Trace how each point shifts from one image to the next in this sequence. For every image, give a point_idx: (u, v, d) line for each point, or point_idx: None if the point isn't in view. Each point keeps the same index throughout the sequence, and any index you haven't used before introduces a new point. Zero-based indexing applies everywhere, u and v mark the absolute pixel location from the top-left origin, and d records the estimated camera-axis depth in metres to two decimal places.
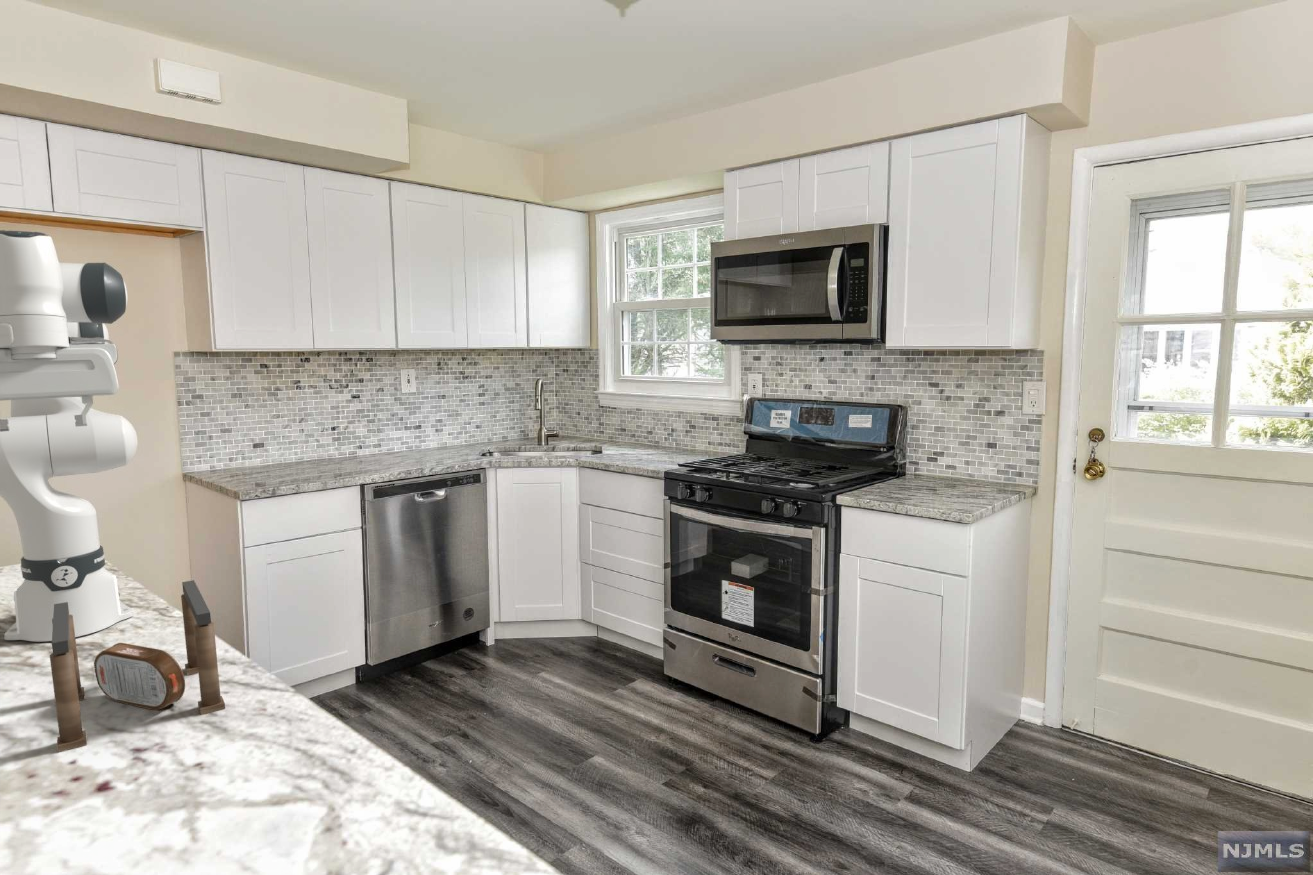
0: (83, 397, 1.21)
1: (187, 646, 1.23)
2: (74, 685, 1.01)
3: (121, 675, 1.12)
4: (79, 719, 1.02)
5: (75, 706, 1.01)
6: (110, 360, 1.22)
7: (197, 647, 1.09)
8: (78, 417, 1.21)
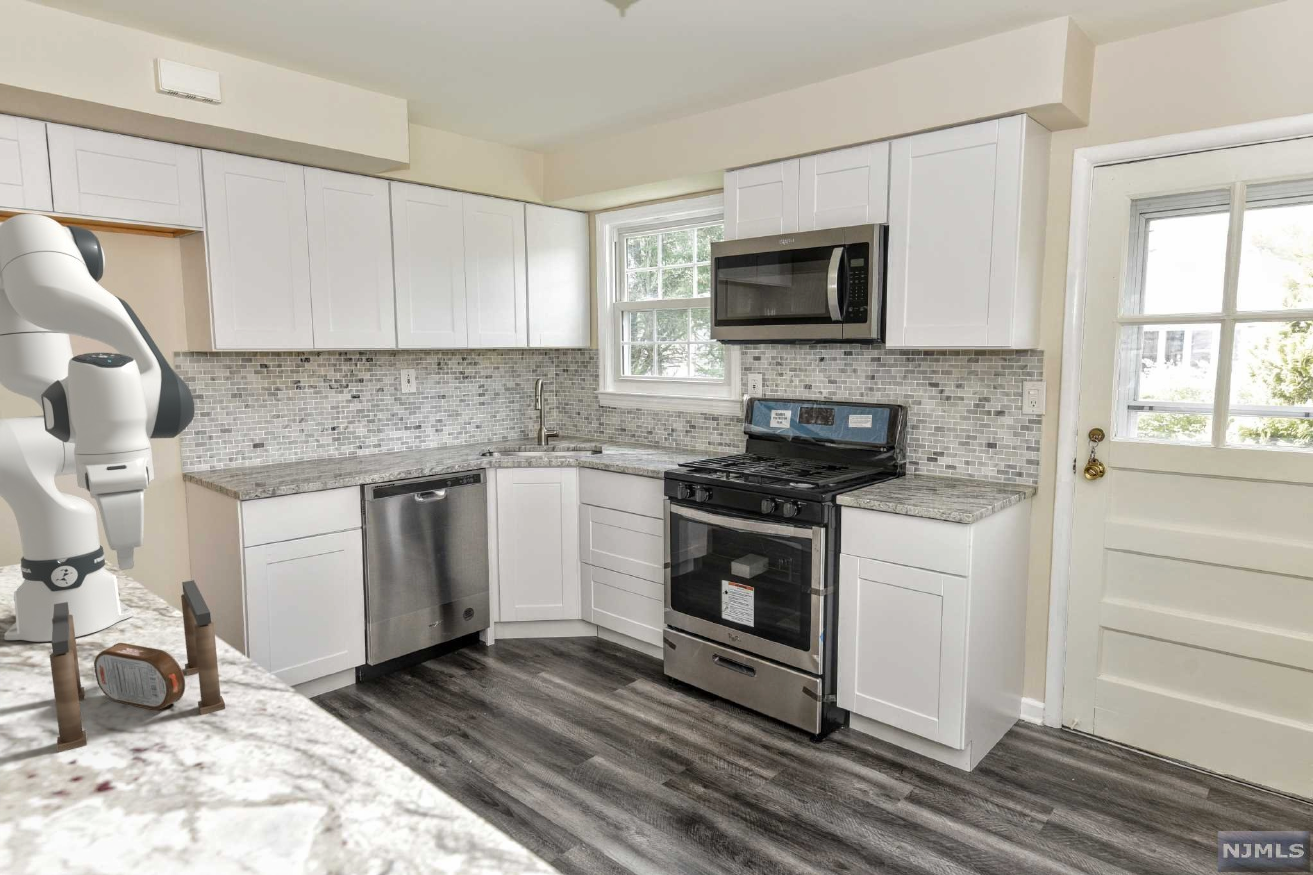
0: None
1: (187, 646, 1.23)
2: (74, 685, 1.01)
3: (121, 675, 1.12)
4: (79, 719, 1.02)
5: (75, 706, 1.01)
6: None
7: (197, 647, 1.09)
8: None
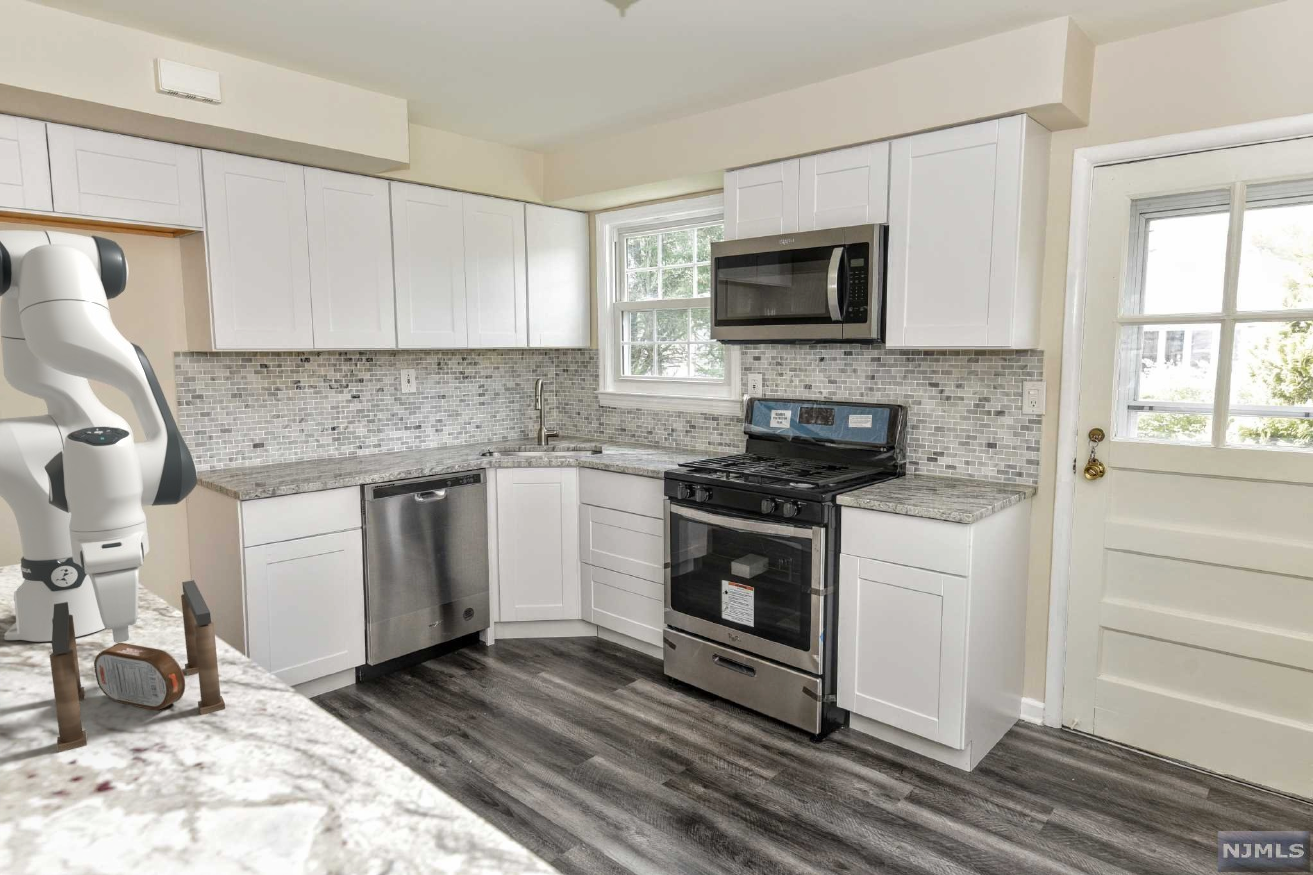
0: None
1: (187, 646, 1.23)
2: (74, 685, 1.01)
3: (121, 674, 1.12)
4: (79, 719, 1.02)
5: (75, 706, 1.01)
6: None
7: (197, 647, 1.09)
8: None
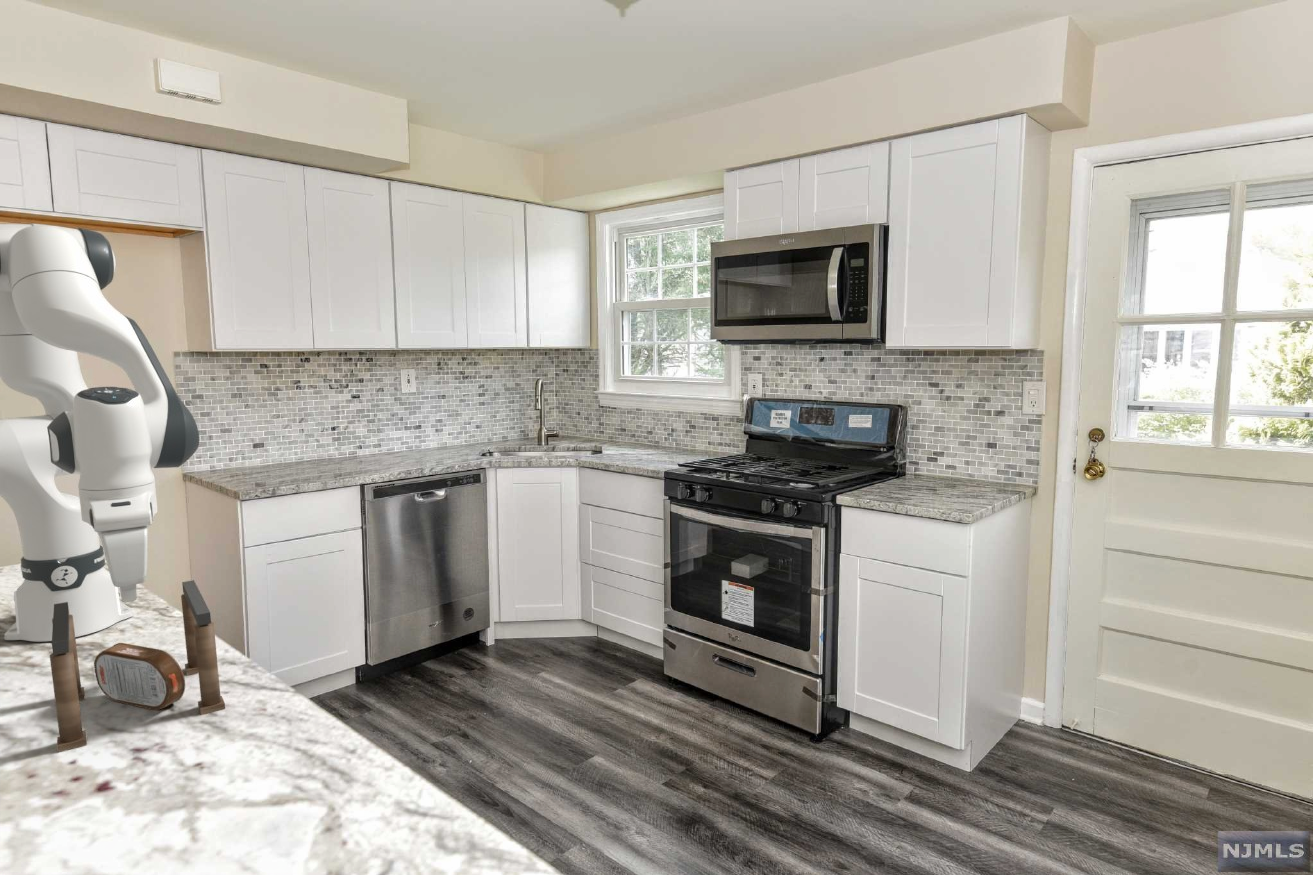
0: None
1: (187, 646, 1.23)
2: (74, 685, 1.01)
3: (121, 675, 1.12)
4: (79, 719, 1.02)
5: (75, 706, 1.01)
6: None
7: (197, 647, 1.09)
8: None
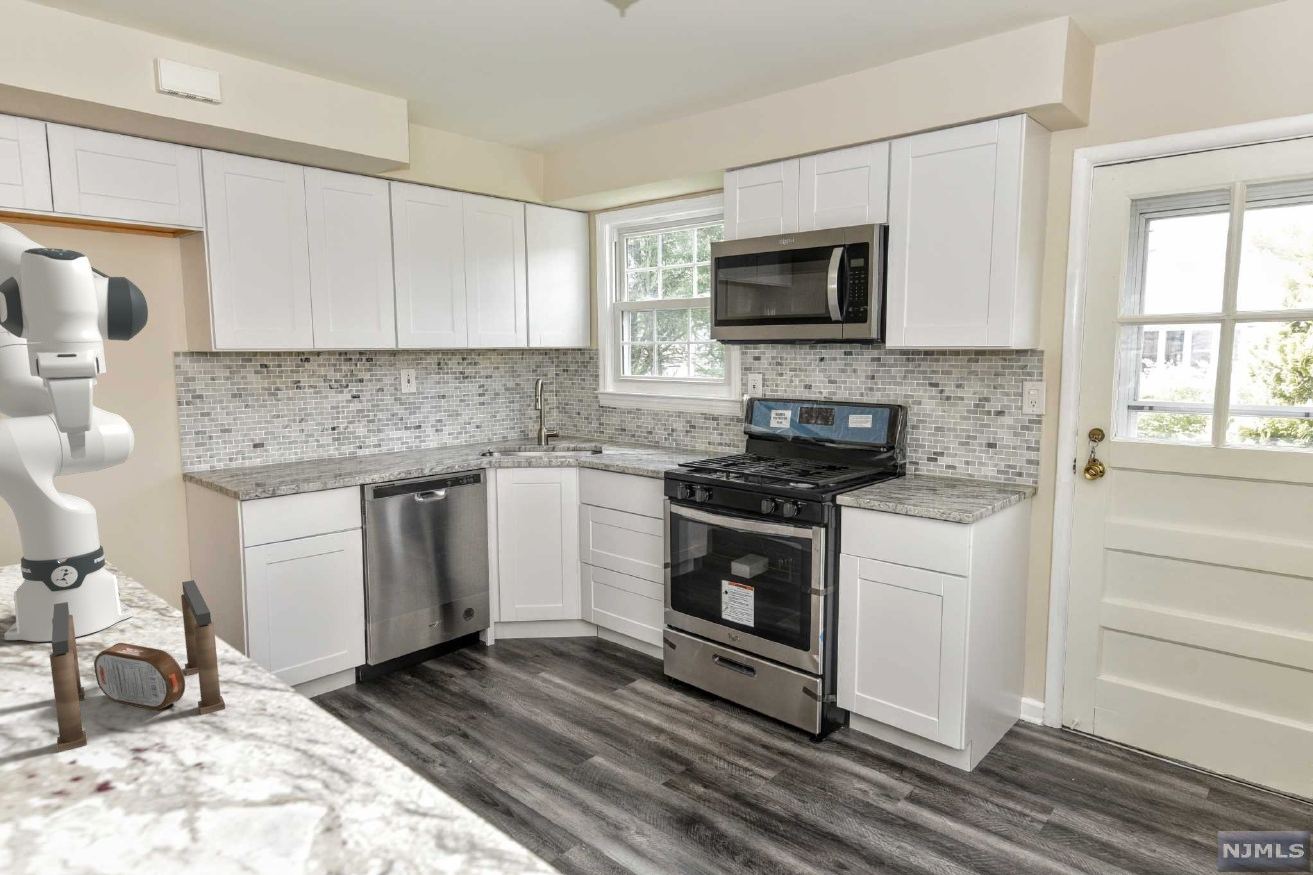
0: None
1: (187, 646, 1.23)
2: (74, 685, 1.01)
3: (121, 675, 1.12)
4: (79, 719, 1.02)
5: (75, 706, 1.01)
6: None
7: (197, 647, 1.09)
8: None
